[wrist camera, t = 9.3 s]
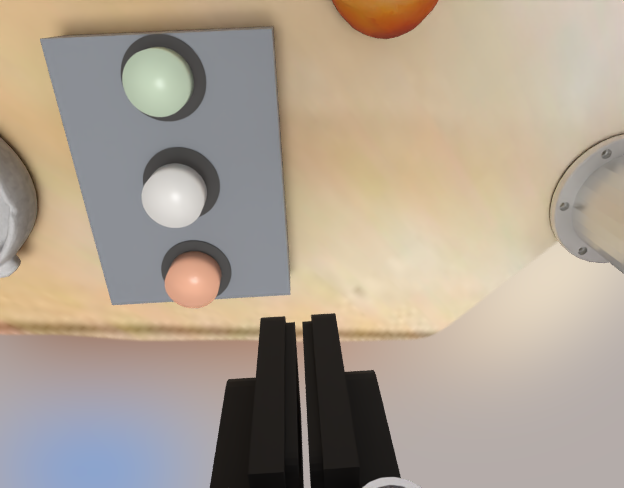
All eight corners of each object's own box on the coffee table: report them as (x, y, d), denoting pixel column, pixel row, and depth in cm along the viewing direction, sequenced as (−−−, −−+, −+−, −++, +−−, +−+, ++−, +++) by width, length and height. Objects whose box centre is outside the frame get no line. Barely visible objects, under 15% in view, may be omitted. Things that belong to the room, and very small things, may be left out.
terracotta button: (218, 249, 40) (214, 261, 38) (224, 293, 42) (221, 306, 40) (165, 252, 40) (160, 264, 38) (174, 296, 42) (169, 309, 40)
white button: (202, 161, 36) (198, 170, 34) (210, 215, 38) (206, 226, 36) (143, 164, 36) (135, 173, 34) (154, 218, 38) (147, 229, 36)
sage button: (188, 45, 33) (183, 47, 31) (198, 109, 35) (193, 115, 33) (125, 48, 33) (115, 50, 31) (137, 112, 35) (129, 118, 33)
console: (273, 26, 37) (271, 28, 33) (289, 272, 47) (290, 295, 43) (64, 35, 36) (38, 39, 33) (125, 282, 46) (111, 306, 43)
